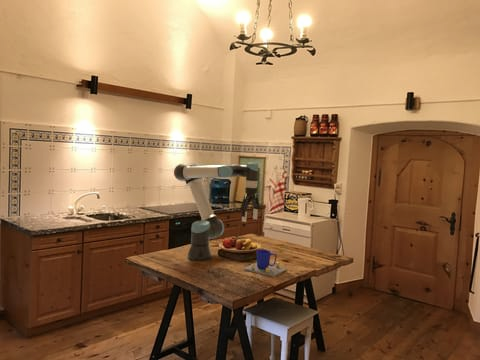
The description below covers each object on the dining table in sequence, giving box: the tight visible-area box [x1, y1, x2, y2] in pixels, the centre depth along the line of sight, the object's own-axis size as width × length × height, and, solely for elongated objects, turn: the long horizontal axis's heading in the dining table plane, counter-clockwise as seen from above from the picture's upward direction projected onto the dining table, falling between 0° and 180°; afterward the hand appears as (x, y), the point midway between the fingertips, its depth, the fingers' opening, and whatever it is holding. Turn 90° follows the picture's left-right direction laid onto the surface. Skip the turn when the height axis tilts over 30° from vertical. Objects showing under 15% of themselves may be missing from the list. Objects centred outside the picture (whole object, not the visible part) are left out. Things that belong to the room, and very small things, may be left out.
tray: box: [243, 261, 287, 278], centre depth 241 cm, size 20×16×4 cm
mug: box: [256, 249, 278, 269], centre depth 241 cm, size 8×12×10 cm
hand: (249, 220), depth 256 cm, fingers open, 13 cm apart
